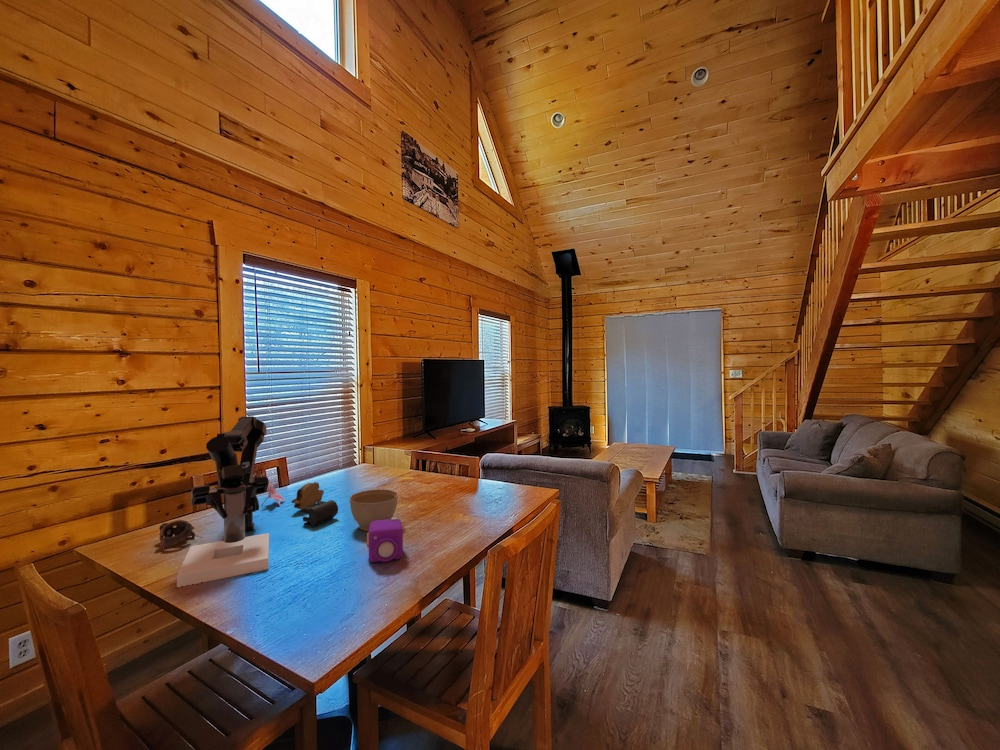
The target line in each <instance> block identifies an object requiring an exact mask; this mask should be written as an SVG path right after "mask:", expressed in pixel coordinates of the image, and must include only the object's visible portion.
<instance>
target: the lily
mask: <svg viewBox="0 0 1000 750" xmlns="http://www.w3.org/2000/svg"><path fill="white" fill-rule="evenodd" d="M267 491H268V495H267V497H266V498H265V499H264V501H263V502H262V504H261V507H263V505H264V503H265V502H266V501H267V500H268V499H269V498H270V499H272V500H275V501H276V502H277V504H278V505H279V506H280V507H281V505H282V504H281V502H280V501H283V502H286V499H285V498H284V497H283V496H282V494H280V493H279V491H278V489H276V488H274V486H273V484H272V483H271V482H270V480H269V484H268V488H267Z"/></svg>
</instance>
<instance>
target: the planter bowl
mask: <svg viewBox="0 0 1000 750" xmlns="http://www.w3.org/2000/svg"><path fill="white" fill-rule="evenodd" d="M398 497H399V493H398V492H397V491H394V490H391V489H384V488H383V489H380V488H379V489H367V490H361V491H359V492H355V493H354V494H352V495H351V496H350V497H349V503H350V510H351V514H352V516H353V518H354V521H355V522H356V523H357V524H358V526H359V529H360V530H361V531H364V532H369V525H370V523H371V522H373V521H377V520H387V519H391V518H393V517H394V514H395V512H396V510H397V505H398Z"/></svg>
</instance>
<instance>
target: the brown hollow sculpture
mask: <svg viewBox="0 0 1000 750" xmlns="http://www.w3.org/2000/svg"><path fill="white" fill-rule="evenodd" d="M158 528H159V531H160V532H159V541H160V543H159V548H160V549H161V548H165V549H166V548H168V547H171V546H173V545H176V544H177V545H178V544H180V543H181V542H183V541H185V540H186V539H187V538H193V537H196V532H195V531H193V530H195V526H193V525H192V524H191V523H190V522H188V521H187V520H183V519H177V520H173V521H171V522H164V523H163V522H162V524H160V526H159V527H158ZM191 536H192V537H191Z"/></svg>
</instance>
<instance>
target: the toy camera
mask: <svg viewBox="0 0 1000 750" xmlns="http://www.w3.org/2000/svg"><path fill="white" fill-rule="evenodd" d="M403 531H404V529H403V524H402V521H401V519H399V518H397V517H395V516H393V517H392V518H391V519H387V520H377V521H373V522H371V523H370V525H369V531H368V532H366V548H368V559H369V561H370V562H371V563H381V562H383V563H384V562H385V563H386V562H390V561H393V560H392V559H396V560H398V559H397V558H399V559H401V558H402V557H403V553H404V552H403V551H404V538H403V537H404V532H403ZM400 557H401V558H400ZM380 561H381V562H380Z"/></svg>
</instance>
